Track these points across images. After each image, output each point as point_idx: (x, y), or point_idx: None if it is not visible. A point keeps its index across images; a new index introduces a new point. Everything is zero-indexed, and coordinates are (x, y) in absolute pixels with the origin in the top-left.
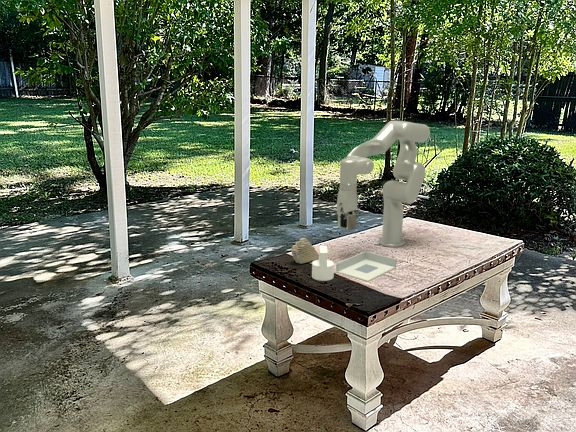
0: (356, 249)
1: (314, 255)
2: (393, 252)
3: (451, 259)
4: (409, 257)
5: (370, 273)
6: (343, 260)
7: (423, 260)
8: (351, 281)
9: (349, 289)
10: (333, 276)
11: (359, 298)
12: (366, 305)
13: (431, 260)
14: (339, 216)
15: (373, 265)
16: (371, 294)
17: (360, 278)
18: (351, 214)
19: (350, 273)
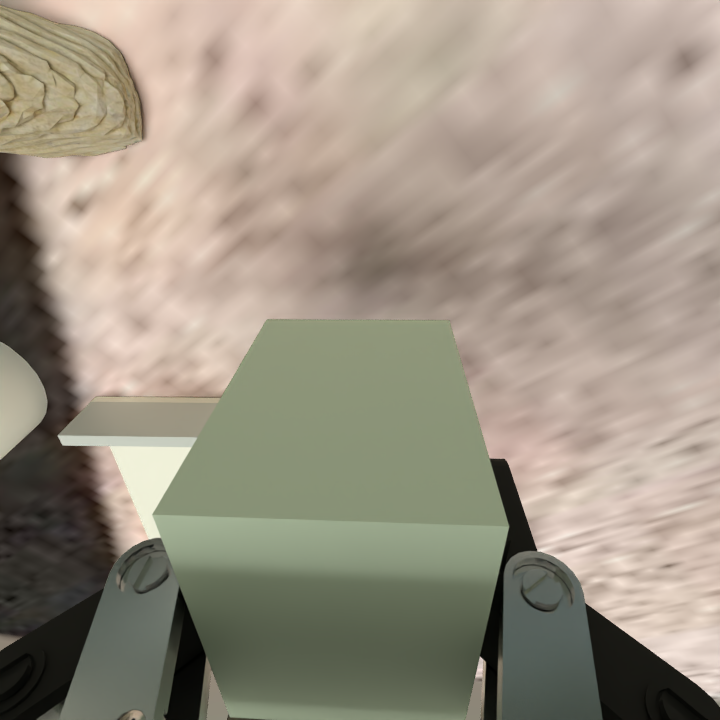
0: (598, 225)
1: (43, 147)
2: (664, 448)
3: (680, 640)
4: (611, 534)
5: None
6: (132, 439)
7: (598, 583)
8: (92, 502)
9: (28, 533)
10: (33, 428)
11: (17, 584)
12: (7, 614)
13: (619, 602)
14: (39, 629)
15: None
16: (83, 594)
17: (142, 521)
18: (429, 704)
19: (139, 469)
